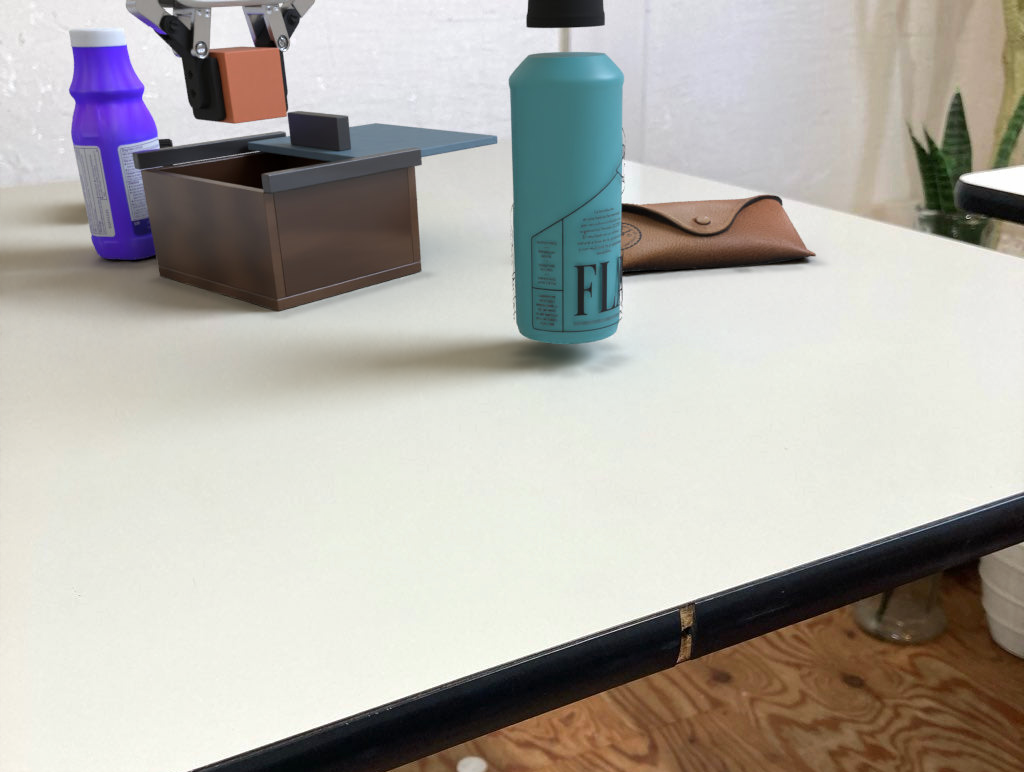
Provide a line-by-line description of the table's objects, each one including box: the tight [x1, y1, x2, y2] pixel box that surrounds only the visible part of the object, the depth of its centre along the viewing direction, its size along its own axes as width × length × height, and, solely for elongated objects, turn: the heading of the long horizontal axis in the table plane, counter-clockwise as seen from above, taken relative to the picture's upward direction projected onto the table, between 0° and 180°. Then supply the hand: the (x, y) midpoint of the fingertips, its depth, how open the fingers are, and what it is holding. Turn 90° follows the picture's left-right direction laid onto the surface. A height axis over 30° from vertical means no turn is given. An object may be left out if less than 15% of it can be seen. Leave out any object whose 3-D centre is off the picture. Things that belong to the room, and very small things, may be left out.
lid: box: [248, 110, 498, 162], centre depth 83 cm, size 15×14×3 cm
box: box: [132, 130, 423, 312], centre depth 79 cm, size 17×14×9 cm
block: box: [209, 46, 288, 125], centre depth 73 cm, size 4×4×4 cm
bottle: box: [68, 27, 163, 261], centre depth 84 cm, size 7×6×17 cm
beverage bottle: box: [508, 0, 626, 345], centre depth 58 cm, size 6×7×20 cm
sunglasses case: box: [620, 193, 817, 273], centre depth 82 cm, size 18×7×7 cm
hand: (241, 112), depth 74 cm, fingers closed on block, 4 cm apart
